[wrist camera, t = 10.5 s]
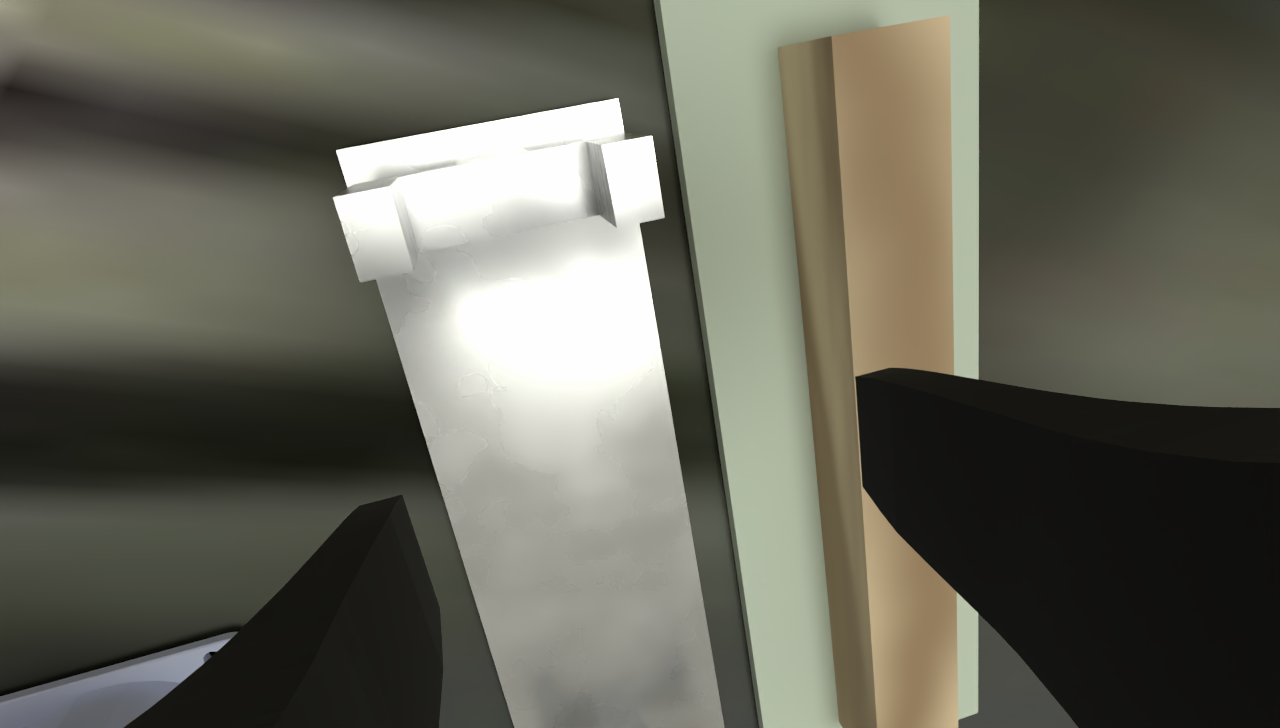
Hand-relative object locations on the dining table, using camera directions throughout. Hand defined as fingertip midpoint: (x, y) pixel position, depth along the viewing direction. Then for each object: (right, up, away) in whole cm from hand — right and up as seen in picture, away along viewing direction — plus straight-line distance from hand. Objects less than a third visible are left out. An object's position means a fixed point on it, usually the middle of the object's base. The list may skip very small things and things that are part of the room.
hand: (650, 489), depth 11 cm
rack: (-2, -3, +12) cm, 12 cm away
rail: (+7, 0, +13) cm, 14 cm away
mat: (+7, 0, +13) cm, 15 cm away
